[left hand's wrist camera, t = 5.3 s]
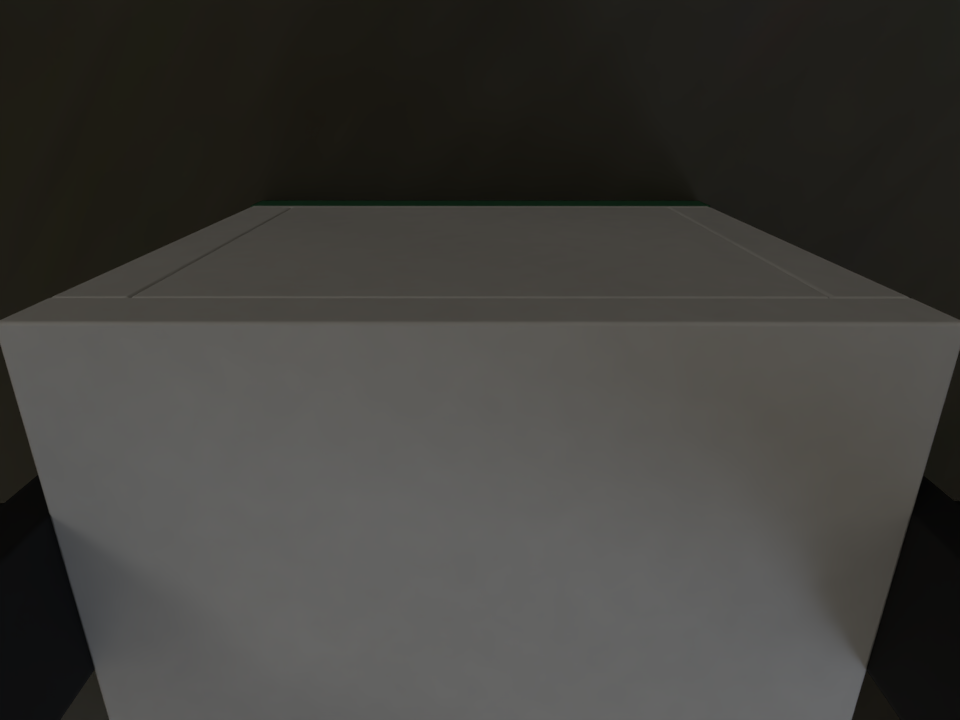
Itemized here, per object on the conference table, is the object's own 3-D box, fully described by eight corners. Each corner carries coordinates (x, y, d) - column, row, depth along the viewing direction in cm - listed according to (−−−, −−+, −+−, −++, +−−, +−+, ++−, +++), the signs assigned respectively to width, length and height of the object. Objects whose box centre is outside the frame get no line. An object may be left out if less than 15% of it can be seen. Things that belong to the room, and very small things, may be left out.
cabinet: (634, 725, 24) (734, 1127, 14) (325, 724, 24) (225, 1126, 14) (699, 200, 17) (971, 321, 7) (261, 200, 17) (-11, 320, 7)
